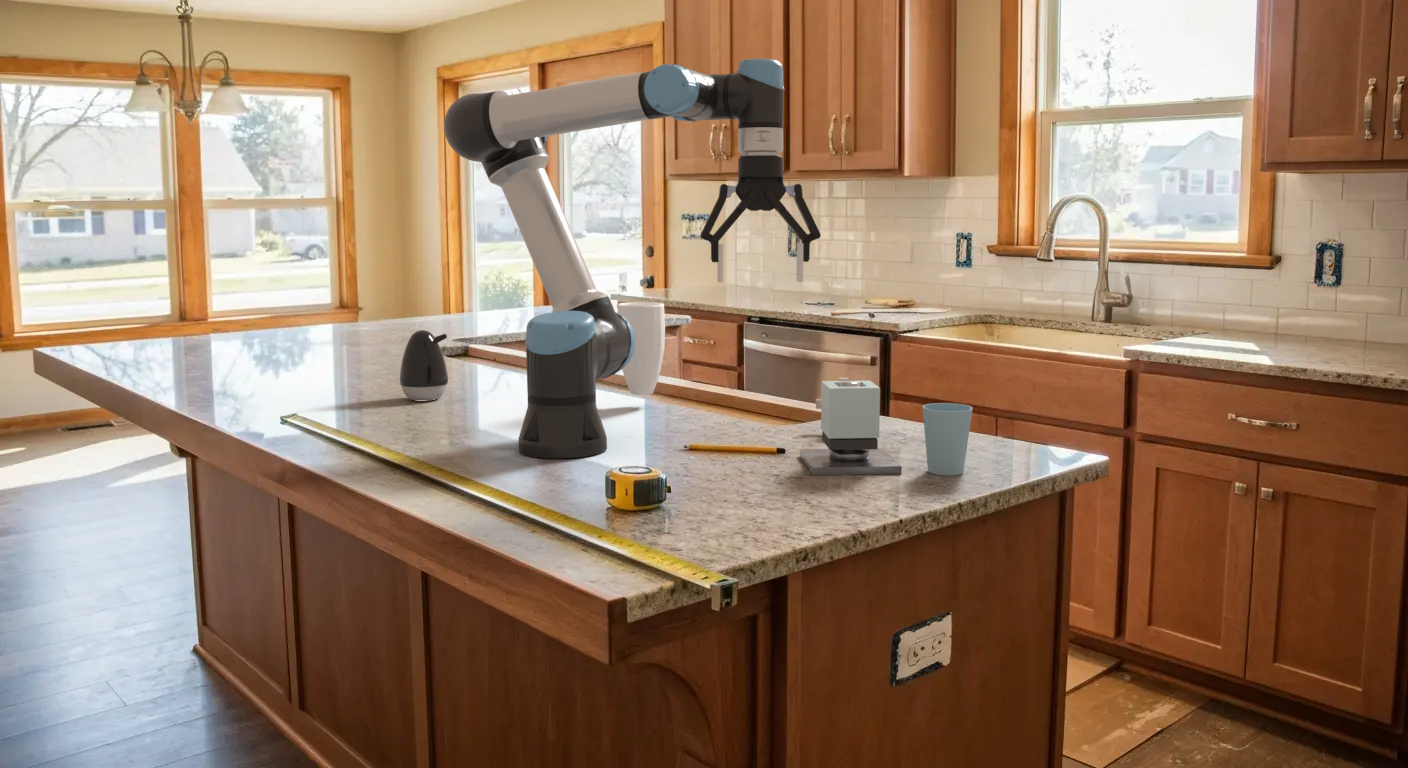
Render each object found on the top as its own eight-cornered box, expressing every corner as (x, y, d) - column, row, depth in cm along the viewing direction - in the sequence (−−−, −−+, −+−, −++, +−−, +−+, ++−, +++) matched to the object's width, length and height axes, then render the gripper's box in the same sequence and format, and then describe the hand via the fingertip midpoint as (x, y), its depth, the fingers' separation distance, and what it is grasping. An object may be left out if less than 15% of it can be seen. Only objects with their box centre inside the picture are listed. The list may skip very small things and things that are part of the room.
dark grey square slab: (829, 449, 187) (830, 440, 186) (822, 440, 194) (822, 430, 194) (877, 449, 187) (877, 439, 187) (868, 439, 195) (868, 430, 194)
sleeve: (829, 438, 186) (829, 388, 185) (821, 429, 194) (821, 381, 193) (879, 437, 187) (880, 387, 185) (869, 428, 195) (870, 380, 193)
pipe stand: (812, 475, 184) (813, 389, 182) (800, 456, 198) (800, 376, 196) (901, 473, 185) (903, 388, 183) (882, 455, 198) (884, 375, 196)
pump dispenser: (443, 403, 251) (441, 332, 249) (395, 403, 252) (392, 332, 249) (454, 395, 261) (452, 327, 259) (407, 395, 262) (404, 327, 259)
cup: (976, 477, 182) (978, 410, 181) (928, 478, 182) (929, 411, 180) (963, 466, 190) (964, 402, 188) (916, 467, 189) (917, 403, 188)
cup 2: (676, 405, 248) (675, 303, 245) (648, 412, 239) (647, 306, 236) (636, 401, 254) (635, 301, 250) (607, 408, 245) (605, 304, 242)
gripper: (687, 153, 193) (687, 283, 196) (838, 153, 195) (836, 282, 198) (685, 155, 201) (685, 280, 204) (830, 155, 202) (829, 279, 205)
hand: (760, 281), depth 201 cm, fingers open, 13 cm apart
